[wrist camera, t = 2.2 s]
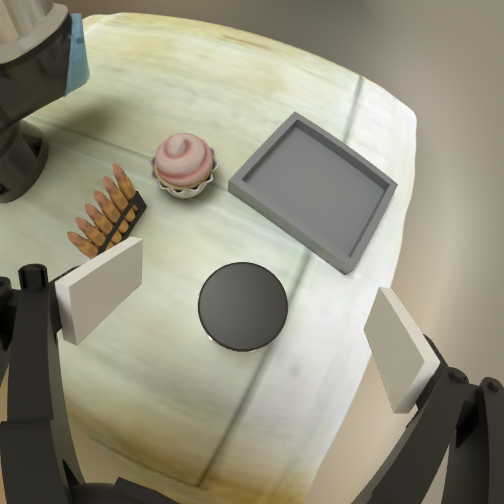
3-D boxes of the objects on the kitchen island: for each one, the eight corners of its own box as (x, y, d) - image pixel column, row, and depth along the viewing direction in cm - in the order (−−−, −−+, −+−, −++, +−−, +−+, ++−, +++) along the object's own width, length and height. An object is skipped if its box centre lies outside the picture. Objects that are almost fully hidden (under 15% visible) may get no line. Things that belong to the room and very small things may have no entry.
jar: (233, 361, 36) (241, 374, 24) (188, 316, 37) (175, 307, 25) (282, 312, 38) (309, 302, 27) (237, 268, 39) (246, 240, 28)
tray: (227, 190, 42) (228, 180, 39) (291, 122, 47) (294, 111, 44) (344, 274, 41) (353, 270, 38) (389, 192, 46) (397, 184, 43)
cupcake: (192, 221, 40) (186, 187, 31) (143, 188, 41) (126, 149, 31) (231, 173, 43) (236, 132, 33) (182, 145, 43) (176, 101, 34)
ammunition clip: (107, 270, 37) (69, 245, 25) (97, 264, 37) (57, 236, 25) (147, 206, 40) (125, 160, 29) (137, 200, 40) (113, 154, 29)
